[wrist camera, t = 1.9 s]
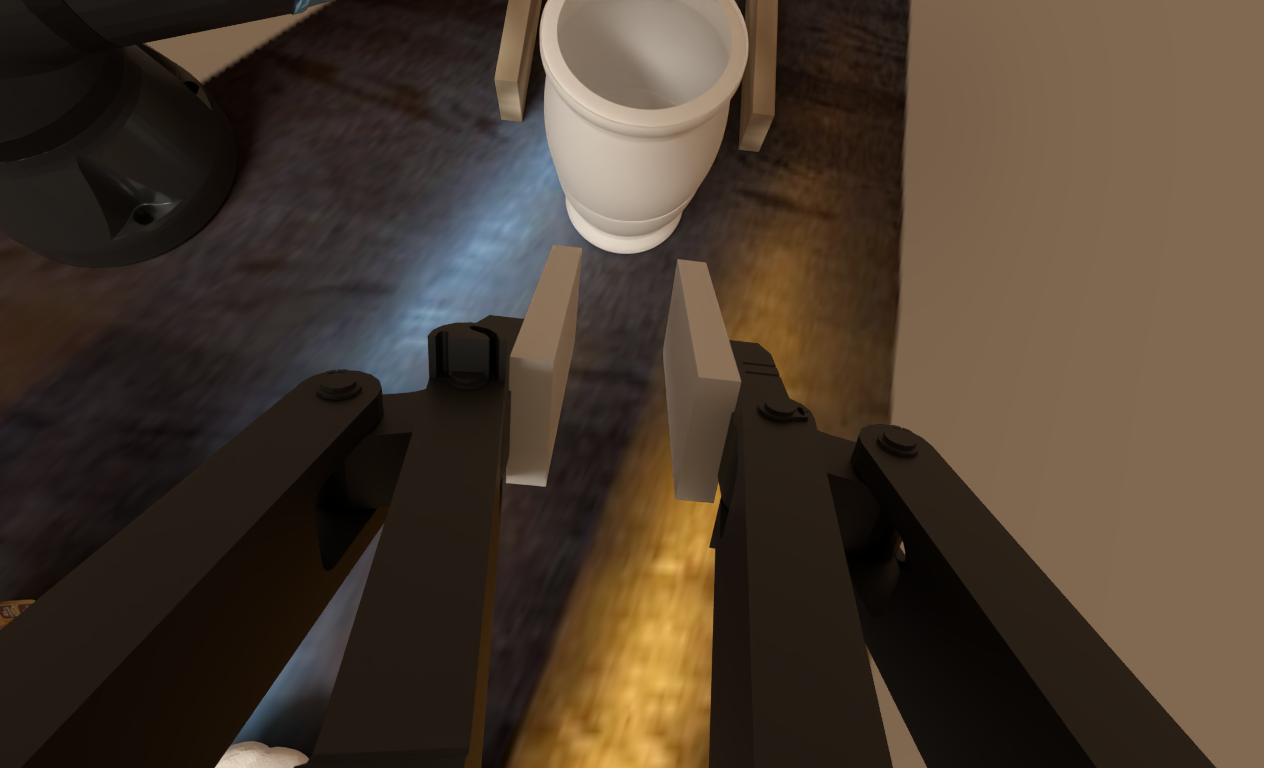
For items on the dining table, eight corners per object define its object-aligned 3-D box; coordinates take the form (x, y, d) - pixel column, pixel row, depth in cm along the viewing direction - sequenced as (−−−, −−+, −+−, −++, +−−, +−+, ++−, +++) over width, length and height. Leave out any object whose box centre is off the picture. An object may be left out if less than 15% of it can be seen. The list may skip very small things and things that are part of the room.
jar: (572, 123, 47) (569, -73, 33) (709, 157, 47) (766, -23, 33) (533, 249, 44) (511, 95, 30) (680, 285, 44) (728, 149, 30)
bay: (501, 119, 47) (494, 79, 43) (531, -55, 51) (527, -105, 47) (758, 151, 48) (774, 115, 44) (765, -22, 52) (780, -69, 48)
